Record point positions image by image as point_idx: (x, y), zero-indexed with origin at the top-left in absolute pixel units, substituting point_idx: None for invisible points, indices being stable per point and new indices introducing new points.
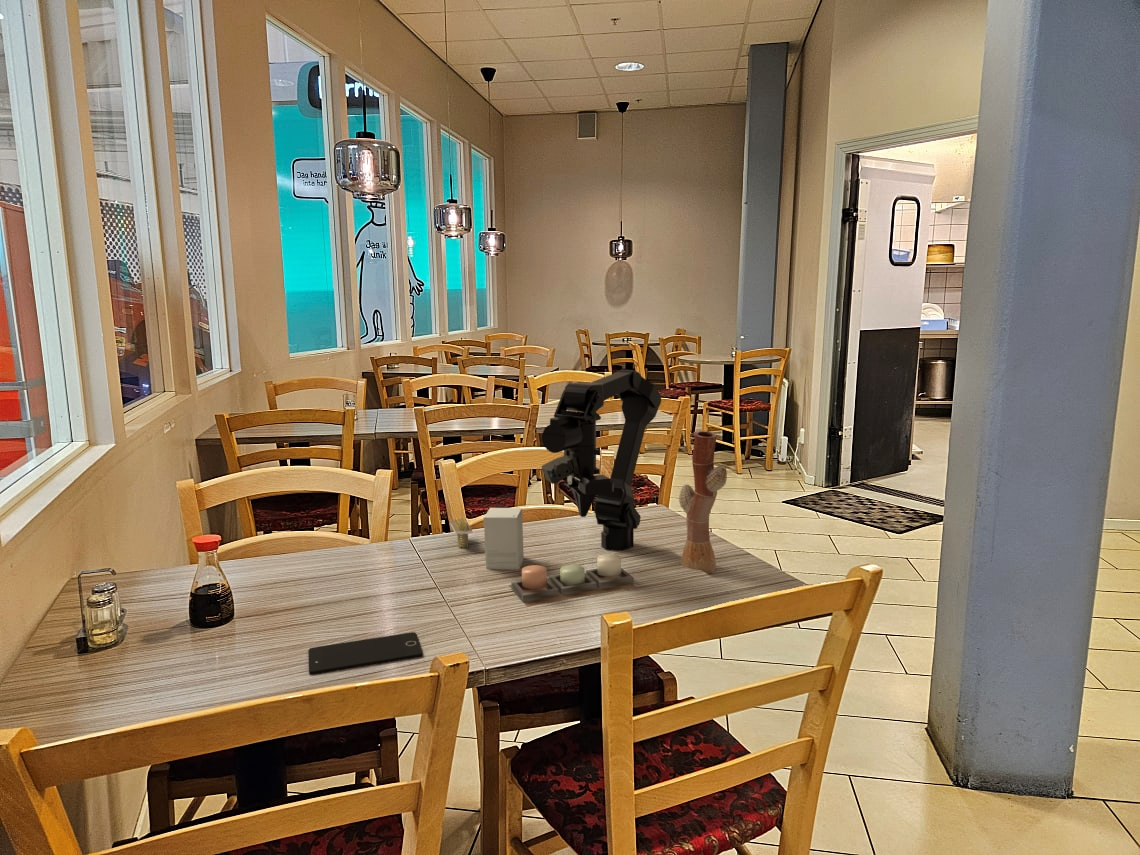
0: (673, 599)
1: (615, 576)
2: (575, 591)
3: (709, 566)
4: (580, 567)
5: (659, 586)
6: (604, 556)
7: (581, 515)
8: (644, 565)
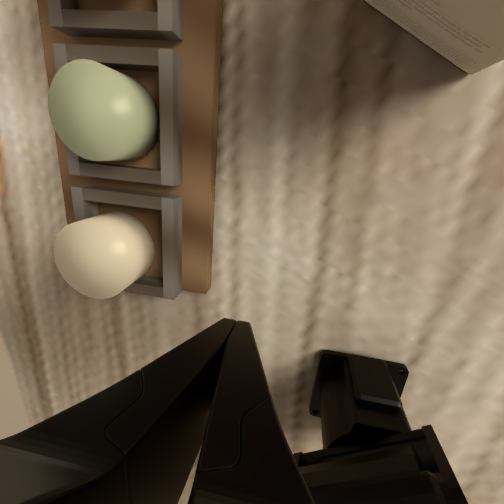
0: (37, 307)
1: (153, 267)
2: None
3: None
4: (95, 149)
5: (104, 326)
6: (108, 257)
7: (218, 322)
8: None
